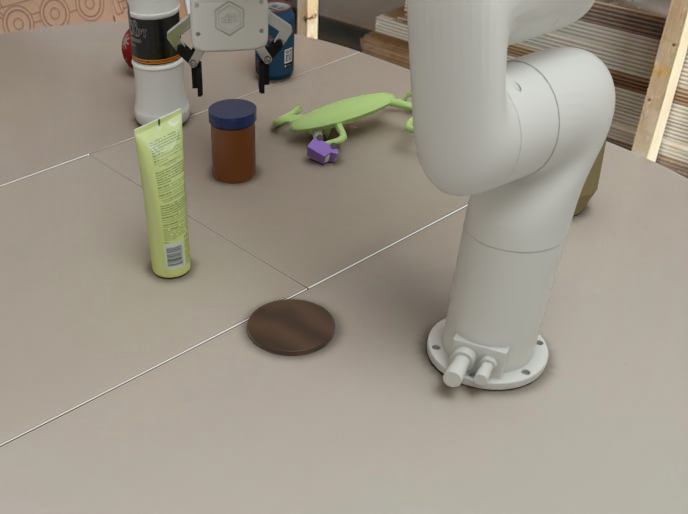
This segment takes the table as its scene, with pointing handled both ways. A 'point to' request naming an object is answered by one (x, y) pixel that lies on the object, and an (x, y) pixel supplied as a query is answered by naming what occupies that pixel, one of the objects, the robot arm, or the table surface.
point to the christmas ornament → (127, 49)
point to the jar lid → (232, 114)
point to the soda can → (284, 58)
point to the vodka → (156, 60)
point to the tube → (164, 193)
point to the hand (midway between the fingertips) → (230, 90)
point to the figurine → (339, 120)
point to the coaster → (291, 327)
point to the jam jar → (233, 154)
